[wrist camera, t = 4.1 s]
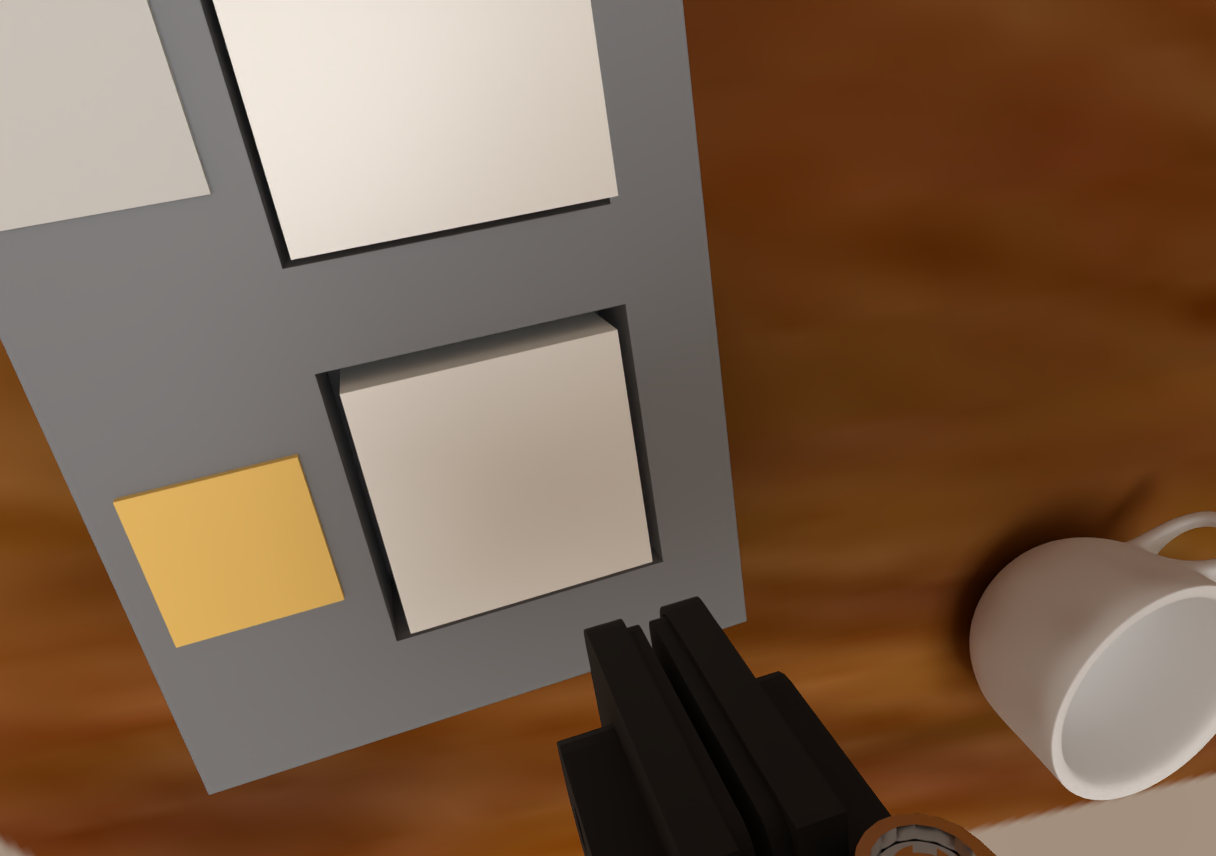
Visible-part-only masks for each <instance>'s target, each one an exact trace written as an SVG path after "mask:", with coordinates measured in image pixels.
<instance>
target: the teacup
mask: <svg viewBox="0 0 1216 856" xmlns="http://www.w3.org/2000/svg"><path fill="white" fill-rule="evenodd" d="M1207 526H1209V527H1216V512H1211V511H1204V512H1196V513H1191V514H1187V515H1184V516H1180V517H1178V518H1175V519H1172V520H1170V521H1167V522H1165V523H1163V524H1161V525H1159V526H1157V527H1155V528H1153V529H1151V530H1149V531H1147V532H1146V533H1144V534H1142V535H1140V536H1138V537H1136V538H1134V539H1132V540H1130V541H1127V542H1119V541H1115V540H1110V539H1104V538H1091V537H1078V538H1067V539H1060V540H1056V541H1051V542H1048V543H1045V544H1042V545H1039V546H1037V547H1034V548H1032V549H1030V550H1028V551H1026V552H1025V553H1023V554H1021V555H1020V556H1018V557H1017V558H1015V559H1014V560H1013V561H1011V562H1010V563H1009V564H1008V565H1007V566H1005V567H1004V568H1003V569H1002V570H1001V571H1000V572H999V573H998V574H997V575H996V577H995V578H994V579H993V580H992V581H991V583H990V584H989V585H988V587H987V588H986V590H985V591H984V593H983V595H982V597H981V598H980V600H979V603H978V605H977V607H976V610H975V612H974V615H973V619H972V623H971V629H970V639H969V646H970V656H971V662H972V667H973V670H974V674H975V677H976V680H977V682H978V685H979V687H980V689H981V691H982V693H983V695H984V696H985V698H986V700H987V701H988V702H989V704H990V705H991V706H992V708H993V709H994V710H995V711H996V713H997V714H998V715H999V716H1000V717H1001V718H1002V719H1003V721H1004V722H1005V723H1006V724H1007V725H1008V726H1009V727H1010V728H1011V729H1012V730H1013V731H1014V733H1015V734H1016V735H1017V736H1018V737H1019V738H1020V739H1021V740H1022V741H1023V742H1024V743H1025V744H1026V745H1027V746H1028V747H1029V748H1030V750H1031V751H1032V752H1033V753H1034V754H1035V755H1036V756H1037V757H1038V758H1039V759H1040V760H1041V761H1042V763H1043V764H1044V765H1045V766H1046V767H1047V768H1048V769H1049V770H1050V771H1051V773H1052V774H1053V775H1054V776H1055V777H1056V778H1057V779H1058V780H1059V781H1060V782H1061V783H1062V784H1063V785H1064V786H1065V787H1066V788H1067V789H1068V790H1069V791H1071V792H1072V793H1074V794H1076V795H1078V796H1080V797H1083V798H1087V799H1092V800H1110V799H1116V798H1121V797H1125V796H1128V795H1131V794H1134V793H1137V792H1139V791H1142V790H1144V789H1146V788H1148V787H1150V786H1152V785H1154V784H1156V783H1158V782H1159V781H1161V780H1163V779H1164V778H1166V777H1167V776H1169V775H1170V774H1172V773H1173V772H1175V771H1176V770H1177V769H1179V768H1180V767H1181V766H1183V765H1184V764H1185V763H1186V762H1188V761H1189V760H1190V759H1191V758H1192V757H1193V756H1194V755H1196V754H1197V753H1198V752H1199V751H1200V750H1201V749H1202V748H1203V747H1204V746H1205V745H1206V744H1207V743H1208V742H1209V740H1210V739H1211V738H1212V737H1213V736H1214V735H1215V734H1216V559H1210V560H1199V561H1189V560H1177V559H1170V558H1166V557H1163V556H1160V555H1157V554H1158V553H1159V551H1160V550H1161V549H1162V548H1163V547H1164V546H1165V545H1166V544H1167V543H1168V542H1170V541H1171V540H1172V539H1174V538H1175V537H1176V536H1178V535H1180V534H1181V533H1183V532H1186V531H1188V530H1191V529H1194V528H1199V527H1207Z"/></svg>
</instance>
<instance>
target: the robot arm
mask: <svg viewBox="0 0 1216 856" xmlns="http://www.w3.org/2000/svg"><path fill="white" fill-rule="evenodd" d="M649 631H650V637H651V643H652V647H651V645H650V643H649V641H648V639H647V638H646V636H645V634H644V632H643V630H642V628H641V627H640V625H634V626H631V627H628V628H627V627H626V625H625V623H624V621H623V620H622V619H617V620H614V621H611V622H607V623H604V624H600V625H597V626H594V627H590V628H587V629H584V638H585V644H586V649H587V654H588V659H589V664H590V669H591V674H592V679H593V684H594V689H595V695H596V700H597V705H598V710H599V715H600V720H601V725H602V728H599V729H595V730H592V731H589V732H586V733H583V734H580V735H577V736H573V737H570V738H567V739H564V740H561V741H558V742H557V746H558V751H559V756H560V760H561V765H562V769H563V773H564V778H565V782H566V786H567V791H568V795H569V799H570V803H571V807H572V811H573V814H574V818H575V822H576V826H577V829H578V833H579V837H580V840H581V844H582V848H583V851H584V855H585V856H996V855H995V854H994V853H993V852H992V851H991V850H990V849H989V848H987V847H986V846H985V845H984V844H983V843H982V842H981V841H980V840H979V839H977V838H976V837H975V836H973V835H972V834H971V833H969V832H968V831H966V830H965V829H964V828H962V827H961V826H959V825H957V824H954V823H952V822H950V821H947V820H945V819H943V818H940V817H936V816H931V815H925V814H920V813H910V814H896V815H893V816H891V815H890V814H889V812H888V811H887V810H886V808H885V807H884V806H883V804H882V803H881V802H880V800H879V799H878V798H877V796H876V795H875V794H874V792H873V791H872V789H871V788H870V787H869V785H868V784H867V783H866V781H865V780H864V779H863V777H862V776H861V775H860V773H859V772H858V771H857V769H856V768H855V767H854V765H853V764H852V763H851V761H850V760H849V759H848V757H847V756H846V755H845V753H844V752H843V751H842V749H841V748H840V747H839V745H838V744H837V743H836V741H835V740H834V739H833V737H832V736H831V735H830V733H829V732H828V730H827V729H826V728H825V726H824V725H823V724H822V722H821V721H820V720H819V718H818V717H817V716H816V714H815V713H814V712H813V710H812V709H811V708H810V706H809V705H808V704H807V702H806V701H805V700H804V698H803V697H802V696H801V694H800V693H799V692H798V690H797V689H796V688H795V686H794V685H793V684H792V682H791V681H790V680H789V679H788V678H787V677H786V675H785V674H783V673H781V672H779V671H778V672H774V673H771V674H768V675H765V676H762V677H759V678H755V677H754V675H753V674H752V672H751V671H750V669H749V668H748V666H747V665H746V664H745V662H744V661H743V659H742V658H741V656H740V655H739V653H738V652H737V650H736V649H735V648H734V646H733V645H732V643H731V642H730V640H729V639H728V637H727V636H726V634H725V633H724V632H723V630H722V629H721V627H720V626H719V624H718V623H717V621H716V620H715V618H714V617H713V616H712V614H711V613H710V611H709V610H708V608H707V607H706V605H705V604H704V602H703V601H702V600H701V599H700V598H699V597H697V596H696V597H692V598H689V599H685V600H682V601H679V602H675V603H672V604H668V605H665V606H662V607H661V608H660V618H658V619H655V620H651V621H650V622H649Z"/></svg>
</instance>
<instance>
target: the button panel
mask: <svg viewBox="0 0 1216 856" xmlns="http://www.w3.org/2000/svg"><path fill="white" fill-rule="evenodd" d="M591 7H592V14H593V21H594V28H595V35H596V42H597V49H598V56H599V64H600V71H601V78H602V85H603V92H604V99H605V106H606V113H607V120H608V127H609V134H610V141H611V148H612V155H613V162H614V169H615V176H616V183H617V190H618V196H615V197H610V198H605V199H600V200H594V201H589V202H584V203H579V204H574V205H569V206H564V207H559V208H554V209H549V210H544V211H538V212H533V213H528V214H523V215H518V216H513V217H508V218H503V219H498V220H493V221H488V222H482V223H477V224H472V225H467V226H462V227H457V228H452V229H447V230H442V231H437V232H432V233H426V234H421V235H416V236H411V237H406V238H401V239H396V240H391V241H386V242H381V243H375V244H370V245H365V246H360V247H355V248H350V249H345V250H340V251H335V252H330V253H325V254H319V255H314V256H309V257H304V258H299V259H294V260H291V258H290V255H289V251H288V248H287V245H286V241H285V238H284V235H283V231H282V228H281V225H280V221H279V218H278V215H277V211H276V208H275V205H274V202H273V198H272V195H271V192H270V188H269V185H268V182H267V178H266V175H265V172H264V168H263V165H262V162H261V158H260V155H259V152H258V148H257V145H256V142H255V139H254V135H253V132H252V129H251V125H250V122H249V119H248V115H247V112H246V109H245V105H244V102H243V99H242V95H241V92H240V89H239V86H238V82H237V79H236V76H235V72H234V69H233V66H232V62H231V59H230V56H229V52H228V49H227V46H226V42H225V39H224V36H223V32H222V29H221V26H220V23H219V19H218V16H217V13H216V9H215V6H214V3H213V0H0V338H1V340H2V343H3V345H4V347H5V349H6V351H7V354H8V356H9V358H10V360H11V362H12V365H13V367H14V369H15V371H16V373H17V376H18V378H19V380H20V382H21V384H22V386H23V389H24V391H25V393H26V395H27V397H28V400H29V402H30V404H31V406H32V408H33V411H34V413H35V415H36V417H37V419H38V422H39V424H40V426H41V428H42V430H43V432H44V435H45V437H46V439H47V441H48V443H49V446H50V448H51V450H52V452H53V454H54V457H55V459H56V461H57V463H58V465H59V468H60V470H61V472H62V474H63V476H64V479H65V481H66V483H67V485H68V487H69V489H70V492H71V494H72V496H73V498H74V500H75V503H76V505H77V507H78V509H79V511H80V514H81V516H82V518H83V520H84V522H85V525H86V527H87V529H88V531H89V533H90V535H91V538H92V540H93V542H94V544H95V546H96V549H97V551H98V553H99V555H100V557H101V560H102V562H103V564H104V566H105V568H106V571H107V573H108V575H109V577H110V579H111V581H112V584H113V586H114V588H115V590H116V592H117V595H118V597H119V599H120V601H121V603H122V606H123V608H124V610H125V612H126V614H127V617H128V619H129V621H130V623H131V625H132V627H133V630H134V632H135V634H136V636H137V638H138V641H139V643H140V645H141V647H142V649H143V652H144V654H145V656H146V658H147V660H148V663H149V665H150V667H151V669H152V671H153V673H154V676H155V678H156V680H157V682H158V684H159V687H160V689H161V691H162V693H163V695H164V698H165V700H166V702H167V704H168V706H169V709H170V711H171V713H172V715H173V717H174V719H175V722H176V724H177V726H178V728H179V730H180V733H181V735H182V737H183V739H184V741H185V744H186V746H187V748H188V750H189V752H190V755H191V757H192V759H193V761H194V763H195V765H196V768H197V770H198V772H199V774H200V776H201V779H202V781H203V783H204V785H205V787H206V790H207V792H208V794H209V795H210V794H213V793H217V792H220V791H223V790H226V789H229V788H232V787H235V786H238V785H241V784H244V783H247V782H251V781H254V780H257V779H260V778H263V777H266V776H269V775H272V774H275V773H278V772H281V771H285V770H288V769H291V768H294V767H297V766H300V765H303V764H306V763H309V762H312V761H315V760H319V759H322V758H325V757H328V756H331V755H334V754H337V753H340V752H343V751H346V750H349V749H353V748H356V747H359V746H362V745H365V744H368V743H371V742H374V741H377V740H380V739H384V738H387V737H390V736H393V735H396V734H399V733H402V732H405V731H408V730H411V729H414V728H418V727H421V726H424V725H427V724H430V723H433V722H436V721H439V720H442V719H445V718H448V717H452V716H455V715H458V714H461V713H464V712H467V711H470V710H473V709H476V708H479V707H482V706H486V705H489V704H492V703H495V702H498V701H501V700H504V699H507V698H510V697H513V696H516V695H520V694H523V693H526V692H529V691H532V690H535V689H538V688H541V687H544V686H547V685H550V684H554V683H557V682H560V681H563V680H566V679H569V678H572V677H575V676H578V675H581V674H584V673H588V672H591V669H590V664H589V659H588V654H587V649H586V644H585V638H584V629H587V628H590V627H594V626H597V625H600V624H604V623H607V622H611V621H614V620H617V619H622V620H623V621H624V623H625V625H626V627H627V628H628V627H631V626H634V625H640V627H641V628H642V630H643V632H644V634H645V636H646V638H647V639H648V641H649V643H650V645H651V647H652V643H651V637H650V631H649V622H650V621H651V620H655V619H658V618H660V608H661V607H662V606H665V605H668V604H672V603H675V602H679V601H682V600H685V599H689V598H692V597H696V596H697V597H699V598H700V599H701V600H702V601H703V602H704V604H705V605H706V607H707V608H708V610H709V611H710V613H711V614H712V616H713V617H714V618H715V620H716V621H717V623H718V624H719V626H720V627H721V629H724V628H727V627H730V626H733V625H736V624H739V623H742V622H745V621H747V620H746V610H745V601H744V591H743V581H742V571H741V562H740V552H739V542H738V533H737V523H736V513H735V504H734V494H733V484H732V475H731V465H730V455H729V446H728V436H727V426H726V417H725V407H724V397H723V388H722V378H721V368H720V359H719V349H718V339H717V330H716V320H715V310H714V301H713V291H712V281H711V272H710V262H709V252H708V243H707V233H706V223H705V214H704V204H703V194H702V185H701V175H700V165H699V156H698V146H697V136H696V127H695V117H694V107H693V98H692V88H691V78H690V69H689V59H688V49H687V40H686V30H685V20H684V11H683V1H682V0H591ZM592 311H593V312H595V313H596V314H597V315H599V316H600V317H601V318H603V319H604V320H605V321H606V322H608V323H609V324H610V325H612V326H613V327H614V328H616V329H617V331H618V337H619V344H620V350H621V357H622V364H623V370H624V377H625V383H626V390H627V396H628V403H629V410H630V416H631V423H632V429H633V436H634V443H635V449H636V456H637V462H638V469H639V475H640V482H641V489H642V495H643V502H644V508H645V515H646V521H647V528H648V535H649V541H650V548H651V554H652V561H653V562H650V563H647V564H643V565H640V566H637V567H633V568H630V569H627V570H623V571H620V572H616V573H613V574H610V575H606V576H603V577H600V578H596V579H593V580H590V581H586V582H583V583H580V584H576V585H573V586H570V587H566V588H563V589H560V590H556V591H553V592H550V593H546V594H543V595H539V596H536V597H533V598H529V599H526V600H523V601H519V602H516V603H513V604H509V605H506V606H503V607H499V608H496V609H493V610H489V611H486V612H483V613H479V614H476V615H473V616H469V617H466V618H462V619H459V620H456V621H452V622H449V623H446V624H442V625H439V626H436V627H432V628H429V629H426V630H422V631H419V632H416V633H412V634H411V632H410V629H409V626H408V622H407V619H406V616H405V612H404V609H403V606H402V602H401V599H400V596H399V592H398V589H397V585H396V582H395V579H394V575H393V572H392V569H391V565H390V562H389V559H388V555H387V552H386V549H385V545H384V542H383V538H382V535H381V532H380V528H379V525H378V522H377V518H376V515H375V512H374V508H373V505H372V501H371V498H370V495H369V491H368V488H367V485H366V481H365V478H364V475H363V471H362V468H361V465H360V461H359V458H358V454H357V451H356V448H355V444H354V441H353V438H352V434H351V431H350V428H349V424H348V421H347V418H346V414H345V411H344V407H343V404H342V401H341V397H340V368H345V367H349V366H354V365H358V364H362V363H367V362H371V361H376V360H380V359H385V358H389V357H393V356H398V355H402V354H407V353H411V352H416V351H420V350H424V349H429V348H433V347H438V346H442V345H446V344H451V343H455V342H460V341H464V340H469V339H473V338H477V337H482V336H486V335H491V334H495V333H499V332H504V331H508V330H513V329H517V328H522V327H526V326H530V325H535V324H539V323H544V322H548V321H553V320H557V319H561V318H566V317H570V316H575V315H579V314H583V313H588V312H592Z"/></svg>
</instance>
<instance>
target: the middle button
mask: <svg viewBox="0 0 1216 856" xmlns="http://www.w3.org/2000/svg"><path fill="white" fill-rule="evenodd" d="M213 3H214V6H215V9H216V13H217V16H218V19H219V23H220V26H221V29H222V32H223V36H224V39H225V42H226V46H227V49H228V52H229V56H230V59H231V62H232V66H233V69H234V72H235V76H236V79H237V82H238V86H239V89H240V92H241V95H242V99H243V102H244V105H245V109H246V112H247V115H248V119H249V122H250V125H251V129H252V132H253V135H254V139H255V142H256V145H257V148H258V152H259V155H260V158H261V162H262V165H263V168H264V172H265V175H266V178H267V182H268V185H269V188H270V192H271V195H272V198H273V202H274V205H275V208H276V211H277V215H278V218H279V221H280V225H281V228H282V231H283V235H284V238H285V241H286V245H287V248H288V251H289V255H290V258H291V260H294V259H299V258H304V257H309V256H314V255H319V254H325V253H330V252H335V251H340V250H345V249H350V248H355V247H360V246H365V245H370V244H375V243H381V242H386V241H391V240H396V239H401V238H406V237H411V236H416V235H421V234H426V233H432V232H437V231H442V230H447V229H452V228H457V227H462V226H467V225H472V224H477V223H482V222H488V221H493V220H498V219H503V218H508V217H513V216H518V215H523V214H528V213H533V212H538V211H544V210H549V209H554V208H559V207H564V206H569V205H574V204H579V203H584V202H589V201H594V200H600V199H605V198H610V197H615V196H618V190H617V183H616V176H615V169H614V162H613V155H612V148H611V141H610V134H609V127H608V120H607V113H606V106H605V99H604V92H603V85H602V78H601V71H600V64H599V56H598V49H597V42H596V35H595V28H594V21H593V14H592V7H591V0H213Z"/></svg>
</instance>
